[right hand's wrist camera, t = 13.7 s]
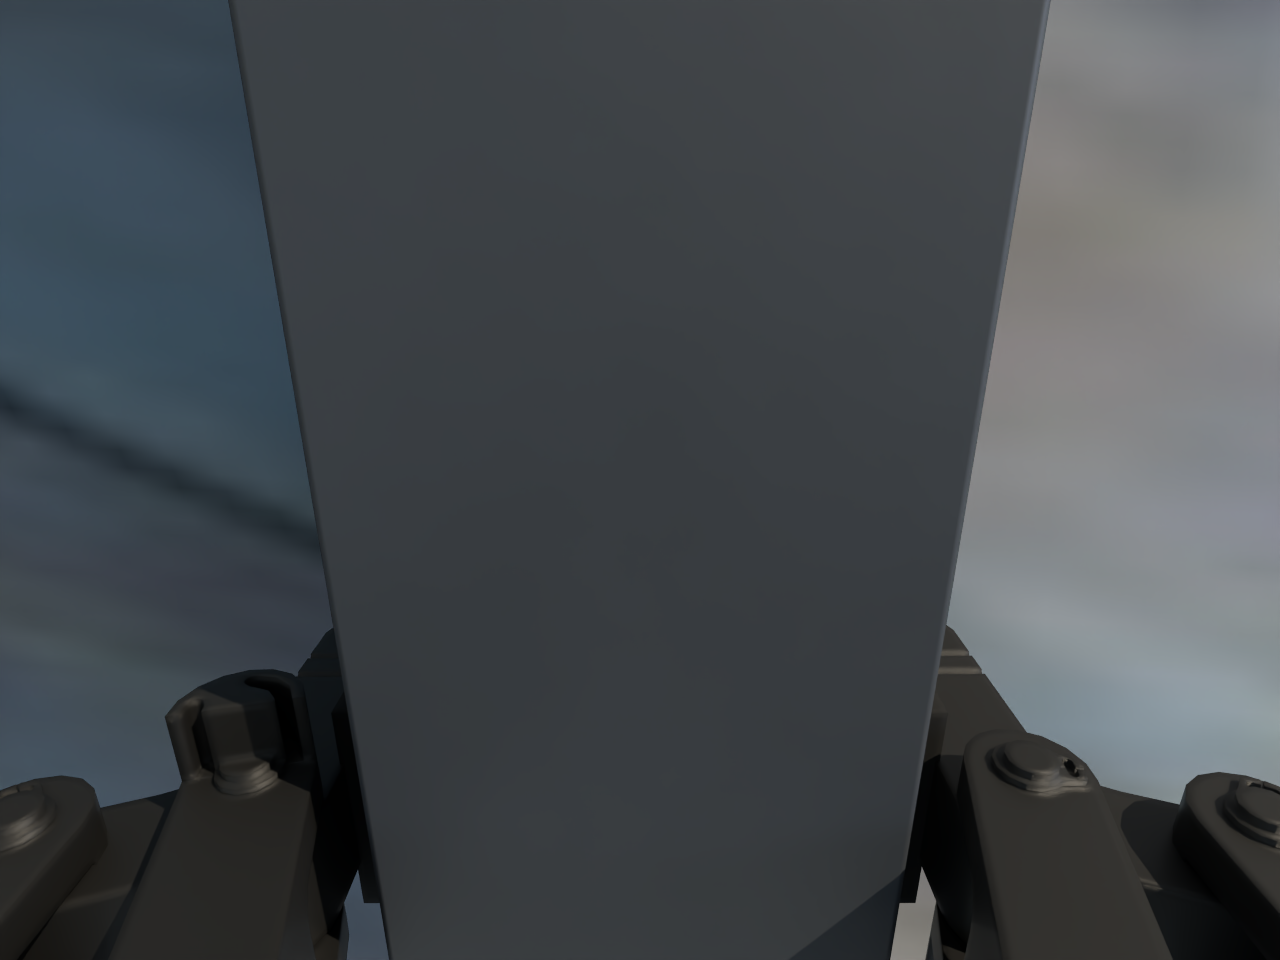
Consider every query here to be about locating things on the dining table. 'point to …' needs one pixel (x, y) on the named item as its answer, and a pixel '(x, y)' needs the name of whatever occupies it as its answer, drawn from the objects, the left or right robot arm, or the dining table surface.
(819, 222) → the beam
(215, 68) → the dining table surface
